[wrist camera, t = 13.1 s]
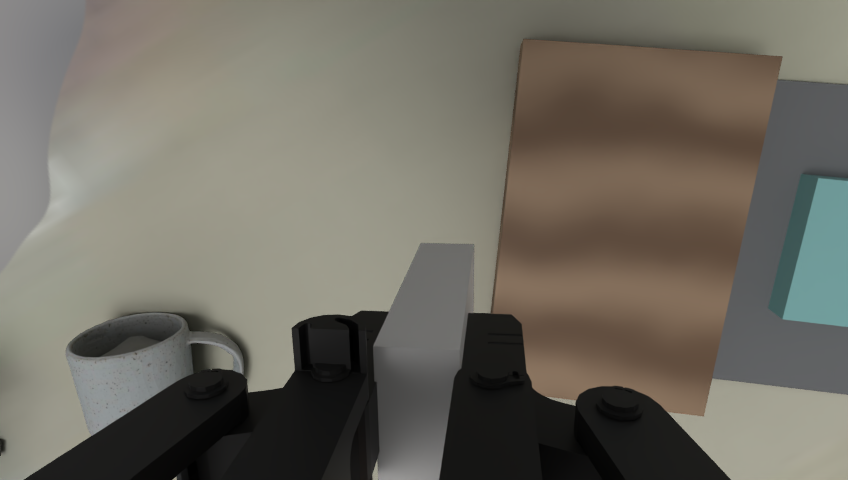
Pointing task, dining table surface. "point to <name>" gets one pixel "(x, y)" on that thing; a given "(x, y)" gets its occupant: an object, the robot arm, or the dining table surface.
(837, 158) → the mat
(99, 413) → the ceramic mug
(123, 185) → the dining table surface
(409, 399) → the robot arm
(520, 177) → the board
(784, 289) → the card
